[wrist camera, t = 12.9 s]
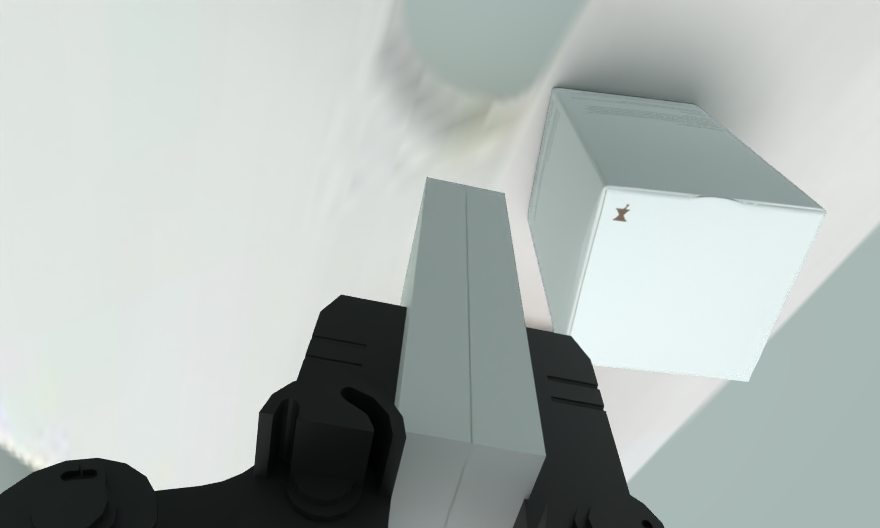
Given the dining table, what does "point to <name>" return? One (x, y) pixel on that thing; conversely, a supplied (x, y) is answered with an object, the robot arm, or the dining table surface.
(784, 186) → the supplement box
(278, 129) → the dining table surface
